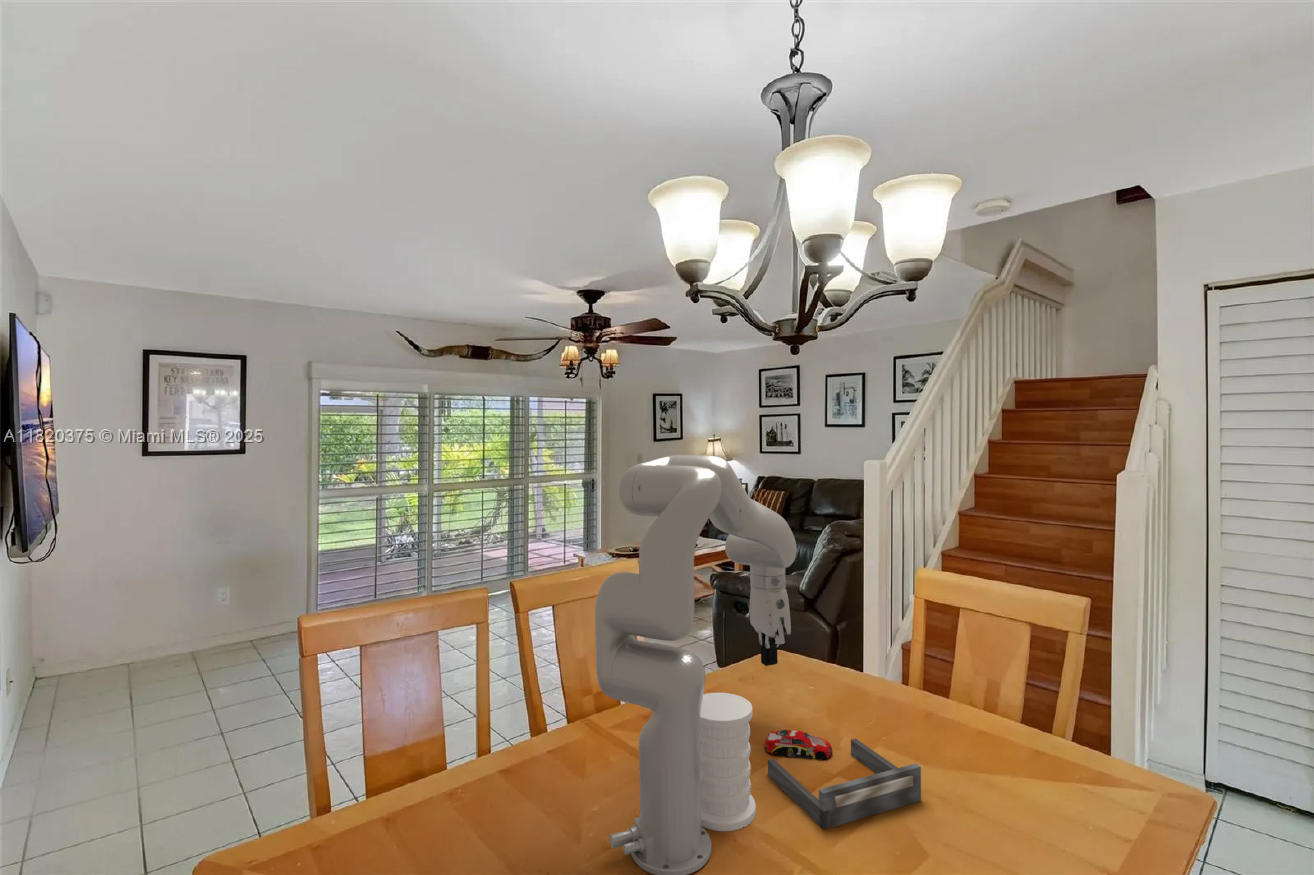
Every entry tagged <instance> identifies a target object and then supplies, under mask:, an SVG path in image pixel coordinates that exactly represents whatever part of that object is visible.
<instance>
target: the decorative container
mask: <svg viewBox="0 0 1314 875" xmlns="http://www.w3.org/2000/svg"><path fill="white" fill-rule="evenodd" d="M752 719H753V705H752V703H751V702H750V701H749V700H748V699H746V698H745V697H743V696H741V695H739V694H738V695H737V694H733V693H730V692H727V693H726V692H709V693H708V692H707V693H704V694H703V699H702V706H701V716H700V785H701V827H702V828H704V829H705V828H706V829H707V830H710V831H717V832H731V831H737V830H741V829H744V828H746V827H747V826H749V825H750V824H751V823H752V822H753V821H754V820H755V819H756V813H757V805H756V800H755V799H754V797H753V795H752V794H751V792H752V783H751V778H750V775H751V771H752V765H751V762H750V759H749V758H750V756H751V752H752V748H751V745H750V742H749V739H750V737H751V733H752V732H751V727H750V723H749V722H750V721H751V720H752ZM748 824H749V825H748ZM743 827H744V828H743Z"/></svg>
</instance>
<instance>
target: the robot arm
mask: <svg viewBox="0 0 1314 875" xmlns="http://www.w3.org/2000/svg"><path fill="white" fill-rule="evenodd" d="M618 496H619V501H620V502H621V505H622V507H623V508H624V509H625V510H626V511H628V513H630V514H632V515H634V516H635V515H636V516H638V517H639V516H641V517H656V519H654V521H653V522H652V523H651V525H650V526H649V527H648V529H647V530H646V531H645V534H644V535H643V537H642V539H641V542H640V545H639V553H638V554H639V555H638V556H639V558H638V563H639V564H638V573H635V572H627V571H621V572H620V571H619V572H616V573H613V574H611V575H609V576H608V577H607V578H606V579H605V580H604V581H603V582H602V584H601V586H600V589H599V591H598V594H597V595H596V602H595V607H594V608H595V609H594V633H595V635H594V636H595V638H594V639H595V670H596V672H595V673H596V680H597V683H598V688H599V689H600V691H601V692H602V693H603V694H604V695H605V696H607V697H608V698H611V699H612V700H616V701H620V702H624V703H629V704H632V705H636V706H640V707H642V708H646V709H649V710H650V711H651V712H652V714H651V717H650V718H649V719H648V720H647V722H645V724H644V725H643V727H642V728H641V730H640V734H639V738H638V756H639V758H638V760H639V761H638V763H639V764H638V765H639V767H638V770H639V816H637V817H634V818H633V821H634V822H633V824H634V825H632V826H629V827H628V829H627V830H624V831H617V832H614V833H611V834H609V842H610V847H611V849H614V850H615V849H616V848H620V847H622V851H623V855H624V856H626V855H630V854H631V858H632V860H633V862H634V863H635V864H636V865H637V866H638V867H639V868H640V869H642V870H644V871H645V872H647V873H649V874H652V875H690V874H692V873H694V872H697V871H699V870H700V869H701V868H702V867H704V866H705V865H706V863H707V862H708V860H710V857H711V854H712V839H711V837H710V834H709V833H708V831H707V830H706V829H705V828H704V827H702V826H701V785H700V716H701V706H702V699H703V694H705V687H706V669H705V665H704V663H703V662H702V660H701V658H699V656H698V655H696V654H695V653H694V652H692V651H690V650H687V649H685V648H681V647H679V646H674V645H668V644H662V643H657V642H650V641H644V640H638V639H636V636H637V637H641V638H646V639H651V640H652V639H653V640H657V641H658V640H659V641H667V642H675V641H676V642H678V641H680V640H684V639H686V638H687V637H688V636H689V635H690V634H691V632H692V629H693V626H694V623H695V621H694V620H695V550H696V546H697V541H698V540H699V537H700V534H701V533H702V530H703V529H704V527H705V525H706V524H707V522H708V520H709V521H710V522H711V524H712V525H713V527H715V528H716V529H718V530H720V531H721V532H722V533H723V532H724V533H725V534H728V536H727V537H726V540H725V544H724V550H725V554H726V556H727V557H728V559H729V560H730V561H731V562H733V563H735V564H738V565H744V566H749V568H750V569H749V571H750V572H749V574H750V575H749V576H750V577H749V578H750V579H749V580H750V594H749V621H750V625H751V626H752V627H753V629H754V630H755V632H756V633H757V635H758V642H759V645H760V664H762V665H764V666H765V667H768V666H773V665H777V664H778V647H779V646H780V645H782V644H785V642H786V641H785V636H790V635H791V632H792V626H791V624H792V623H791V621H792V620H791V611H790V610H791V609H790V602H789V596H788V591H787V589H786V568H789V567H790V566H791V565H792V564H793V563H794V561H795V559H796V558H797V557H796V556H797V553H798V552H797V550H798V549H797V544H796V543H797V542H796V539H795V538H796V537H795V536H794V534H793V531H792V530H791V527H790V526H789V523H788V522H787V521H786V519H785V518H784V517H782V515H780V514H779V513H777V512H775V511H774V510H772V509H771V508H768V507H767V506H765V505H763V504H762V503H761V502H758V501H756V500H755V499H752V498H750V497H749V495H748V493H747V492H746V490H745V488H744V486H743V485H742V483H741V481H740V480H739V478H738V476H737V474H736V472H735V470H734V469H733V467H732V466H731V464H730V463H729V462H728V461H727V460H725V459H724V458H723V457H719V456H716V455H709V454H708V455H704V454H702V455H700V454H694V455H693V454H673V455H667V456H663V457H658V458H655V459H652V460H648V461H643V462H641V463H638V464H634V465H633V466H631V467H629V468H628V469H627V470H626V471H625V472H624V474H623V476H622V477H621V479H620V482H619V487H618Z"/></svg>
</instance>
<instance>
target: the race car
mask: <svg viewBox="0 0 1314 875" xmlns="http://www.w3.org/2000/svg"><path fill="white" fill-rule="evenodd" d="M765 751H767V753H770V754H772V755H776V756H777V757H781V758H784V757H785V756H786V757H791V758H795V757H796V758H804V759H805V758H807V759H816V760H819V761H825V759H828V758H830V757H831V756H832V754H833V747H832V744H831V743H830V742H829V741H828V740H827V739H825V738H822V737H819V736H814V735H810V734H808V732H807V731H802V730H798V729H779V730H775V731H771V732H768V733H767V736H766V737H765Z"/></svg>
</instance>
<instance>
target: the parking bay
mask: <svg viewBox="0 0 1314 875" xmlns="http://www.w3.org/2000/svg"><path fill="white" fill-rule="evenodd" d="M850 755H851V756H853V757H854V758H855V759H856V760H858V761H859V762H861V763H862V764H863V765H864V766H866V767H867V768H869V769H870V770H871V771H873V772H874V773H875V774H871V775H867V776H864V777H861V778H855V779H853V780H848V781H846V782H841V783H838V784H834V785H830V786H826V787H822V788H819V789H818V798H817V797H816V796H815V795H814V794H813V793H812V792H811V791H810V790H809V789H808V788H806V787H805V786H804V785H803V784H802V783H801V782H800V781H798V779H796V778H795V777H794V776H793V775H792V774H791V773H790V772H789V771H788V770H786V768H784V767H783V766H782V765H781V764H780V763H779V762H778V761H777V760H776V759H775V758H769V759H767V776H768V777H769V778H770V779H771V781H773V782H774V783H775V784H776V785H777V786H778V787H779V788H780V789H781V790H782V792H784V793H785V794H786V795H787V796H789V798H791V800H793V802H794V803H795V804H797V806H798V807H800V809H802V810H803V811H804V812H805V813H806V814H807V815H808V816H809V817H810V818H811V819H812V821H814V822H815V823H816V824H817V825H818V826H819V827H821V829H822V830H828V829H832V828H834V827H838V826H841V825H845V824H848V823H852V822H855V821H858V820H861V819H864V818H865V819H866V818H867V817H872V816H875V815H878V814H882V813H885V812H887V811H891V810H895V809H898V808H901V807H905V806H908V805H911V804H915V803H919V802H921V801H922V773H921V772H922V767H921V765H919V764H918V763H915V762H914V763H912V764H908V765H905V766H901V767H898V766H896V765H894V763H892V762H891V761H889V760H888V759H886V758H885V757H883V756H881V754H879V753H877V752H876V751H874V749H872V748H870V747H869V746H868V745H866V744H864V743H863V742H862V741H860V740H859V739H857V738H853V739H852V738H851V739H850Z"/></svg>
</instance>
